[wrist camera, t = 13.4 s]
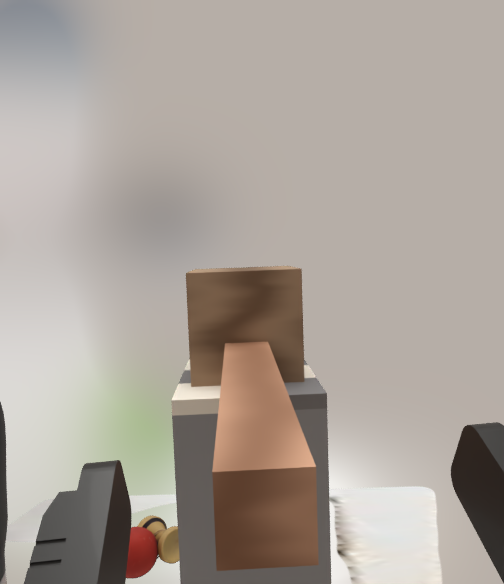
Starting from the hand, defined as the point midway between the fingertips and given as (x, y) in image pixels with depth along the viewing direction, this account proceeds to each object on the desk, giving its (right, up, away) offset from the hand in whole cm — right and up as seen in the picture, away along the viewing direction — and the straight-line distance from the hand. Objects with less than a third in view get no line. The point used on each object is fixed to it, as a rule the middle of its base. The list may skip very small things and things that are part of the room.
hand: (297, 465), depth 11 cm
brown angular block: (-1, -3, +17) cm, 17 cm away
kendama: (-12, -33, +57) cm, 67 cm away
